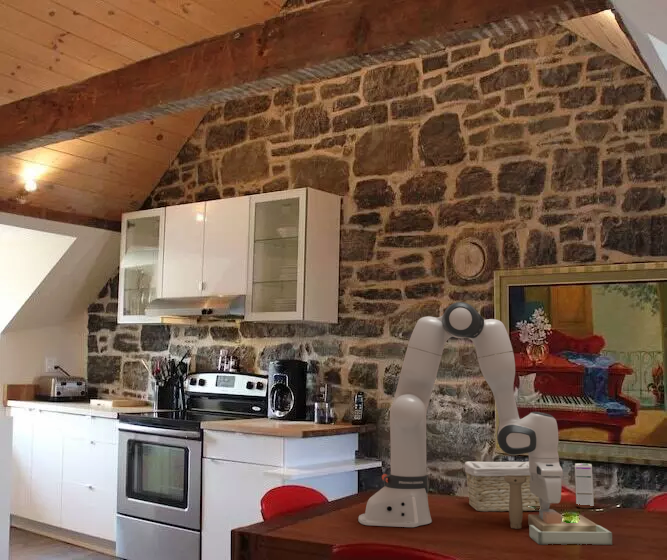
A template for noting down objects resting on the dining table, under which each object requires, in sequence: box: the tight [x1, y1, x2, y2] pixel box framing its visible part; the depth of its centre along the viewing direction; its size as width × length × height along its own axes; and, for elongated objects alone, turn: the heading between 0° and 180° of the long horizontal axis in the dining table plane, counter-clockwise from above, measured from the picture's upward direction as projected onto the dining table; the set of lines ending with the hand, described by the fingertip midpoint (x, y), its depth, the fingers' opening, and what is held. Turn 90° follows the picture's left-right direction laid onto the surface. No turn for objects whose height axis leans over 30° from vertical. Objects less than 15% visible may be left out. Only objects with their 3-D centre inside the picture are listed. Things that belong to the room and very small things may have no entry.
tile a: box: [543, 511, 562, 523], centre depth 231 cm, size 4×4×2 cm
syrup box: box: [574, 462, 595, 507], centre depth 271 cm, size 6×6×14 cm
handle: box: [504, 475, 526, 530], centre depth 237 cm, size 5×6×15 cm
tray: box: [528, 524, 613, 546], centre depth 220 cm, size 20×10×3 cm, turn 91°
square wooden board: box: [527, 514, 598, 532], centre depth 234 cm, size 16×16×3 cm
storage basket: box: [464, 460, 540, 513], centre depth 270 cm, size 24×16×15 cm
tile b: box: [538, 508, 557, 520], centre depth 235 cm, size 4×4×2 cm
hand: (544, 513), depth 238 cm, fingers closed
